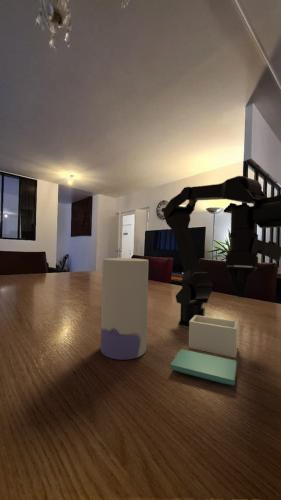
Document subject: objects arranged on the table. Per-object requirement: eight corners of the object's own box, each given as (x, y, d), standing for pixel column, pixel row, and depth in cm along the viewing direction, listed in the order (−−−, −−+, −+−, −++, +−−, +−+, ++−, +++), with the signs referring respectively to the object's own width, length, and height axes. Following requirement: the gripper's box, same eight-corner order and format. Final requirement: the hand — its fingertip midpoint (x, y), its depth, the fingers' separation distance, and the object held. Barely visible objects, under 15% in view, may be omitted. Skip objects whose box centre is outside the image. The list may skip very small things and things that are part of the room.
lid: (170, 375, 41) (170, 364, 41) (181, 358, 47) (181, 349, 47) (234, 393, 36) (234, 380, 36) (236, 371, 42) (236, 360, 42)
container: (151, 344, 53) (153, 258, 53) (137, 364, 44) (139, 260, 44) (113, 337, 56) (115, 257, 56) (91, 355, 47) (94, 258, 47)
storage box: (188, 347, 52) (189, 321, 52) (194, 338, 57) (194, 314, 57) (236, 357, 47) (236, 329, 47) (237, 347, 53) (238, 321, 53)
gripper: (288, 224, 43) (286, 306, 43) (277, 232, 60) (275, 291, 60) (226, 225, 48) (224, 299, 48) (232, 232, 65) (230, 287, 65)
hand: (241, 293), depth 55 cm, fingers open, 9 cm apart
